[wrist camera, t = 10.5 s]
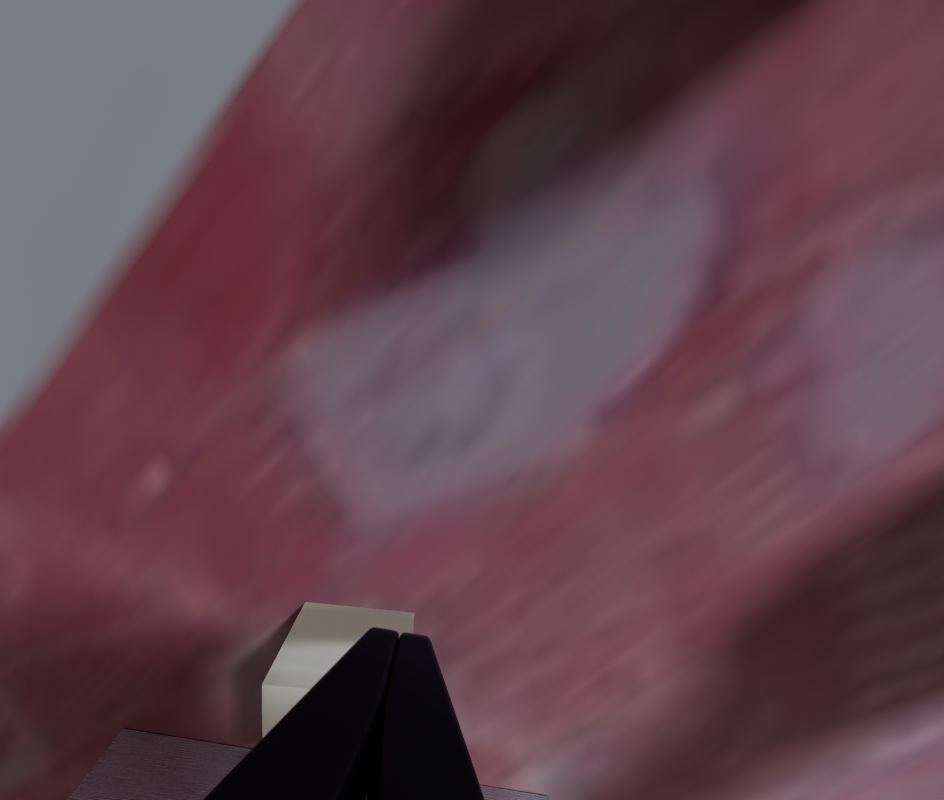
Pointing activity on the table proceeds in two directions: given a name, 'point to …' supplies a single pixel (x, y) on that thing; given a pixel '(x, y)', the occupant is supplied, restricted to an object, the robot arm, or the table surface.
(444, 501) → the table surface
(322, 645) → the plug
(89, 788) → the white arch-shaped block
